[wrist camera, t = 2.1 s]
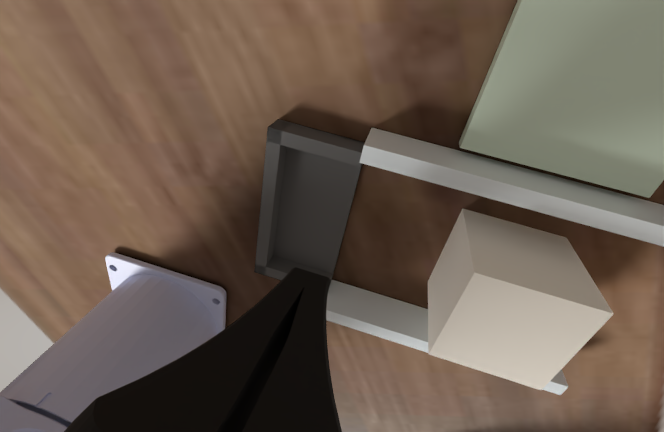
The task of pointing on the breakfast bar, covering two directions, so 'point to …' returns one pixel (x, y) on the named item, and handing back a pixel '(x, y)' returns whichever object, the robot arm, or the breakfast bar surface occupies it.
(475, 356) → the block
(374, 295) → the white bars
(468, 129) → the pad
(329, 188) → the tray
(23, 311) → the breakfast bar surface
